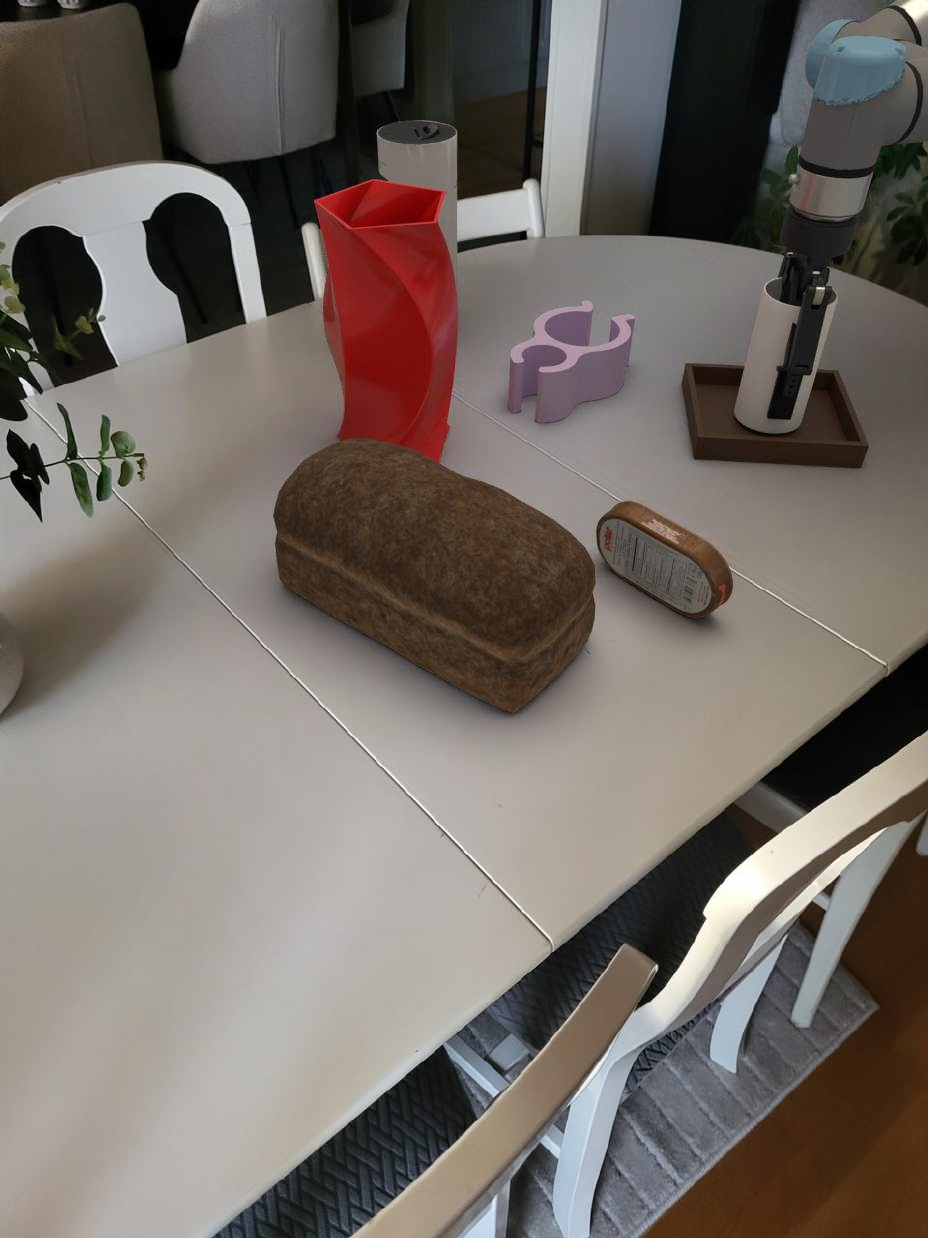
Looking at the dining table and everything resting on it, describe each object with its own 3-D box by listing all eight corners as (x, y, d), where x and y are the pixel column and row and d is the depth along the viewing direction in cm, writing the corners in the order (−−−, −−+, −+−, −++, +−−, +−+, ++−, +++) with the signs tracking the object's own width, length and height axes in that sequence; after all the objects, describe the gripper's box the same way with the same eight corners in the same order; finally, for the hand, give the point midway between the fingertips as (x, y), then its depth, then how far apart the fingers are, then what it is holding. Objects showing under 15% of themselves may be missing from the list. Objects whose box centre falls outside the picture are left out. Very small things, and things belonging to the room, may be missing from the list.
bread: (359, 514, 104) (348, 386, 93) (609, 640, 90) (631, 507, 79) (262, 584, 95) (238, 452, 84) (521, 735, 81) (532, 600, 70)
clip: (566, 433, 116) (571, 383, 111) (484, 401, 121) (485, 351, 116) (644, 368, 128) (652, 320, 123) (566, 342, 133) (570, 295, 128)
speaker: (390, 304, 141) (381, 113, 123) (459, 305, 141) (460, 115, 123) (383, 337, 133) (372, 139, 115) (456, 339, 133) (457, 141, 115)
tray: (831, 391, 124) (838, 370, 122) (861, 468, 111) (869, 445, 109) (681, 383, 125) (685, 362, 123) (693, 458, 112) (698, 436, 110)
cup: (730, 427, 115) (760, 302, 104) (737, 393, 121) (766, 272, 110) (799, 438, 113) (837, 312, 102) (803, 404, 119) (839, 281, 108)
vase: (476, 436, 115) (481, 200, 96) (406, 493, 107) (395, 247, 87) (379, 398, 121) (365, 170, 102) (305, 450, 113) (274, 211, 93)
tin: (725, 621, 92) (744, 554, 86) (706, 636, 90) (724, 570, 85) (605, 549, 100) (615, 484, 94) (586, 563, 98) (595, 497, 92)
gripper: (772, 172, 108) (731, 354, 123) (805, 247, 92) (753, 444, 108) (839, 175, 107) (789, 357, 123) (883, 250, 92) (820, 447, 108)
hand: (772, 397), depth 115 cm, fingers closed on cup, 8 cm apart
